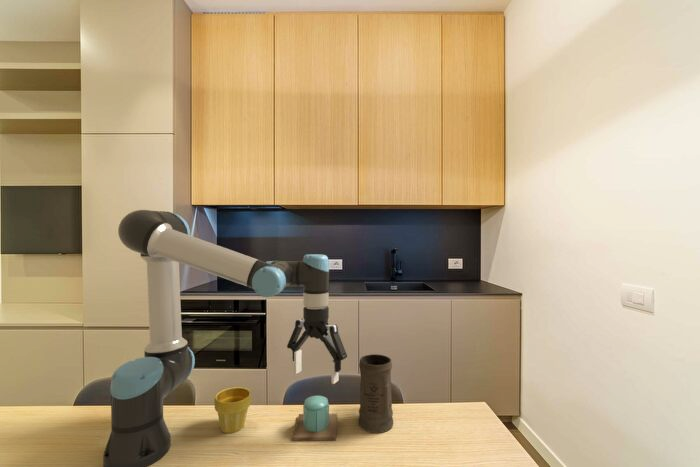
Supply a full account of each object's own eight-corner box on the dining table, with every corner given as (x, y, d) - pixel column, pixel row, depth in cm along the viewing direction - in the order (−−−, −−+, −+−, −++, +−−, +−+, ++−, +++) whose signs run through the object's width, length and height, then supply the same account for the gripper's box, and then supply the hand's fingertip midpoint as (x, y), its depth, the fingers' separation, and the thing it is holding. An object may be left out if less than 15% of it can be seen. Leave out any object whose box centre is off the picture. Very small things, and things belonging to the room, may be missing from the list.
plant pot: (256, 418, 107) (256, 387, 107) (242, 438, 97) (242, 404, 96) (224, 416, 108) (224, 385, 108) (207, 436, 98) (207, 402, 97)
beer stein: (395, 435, 98) (395, 364, 99) (358, 434, 98) (358, 363, 99) (390, 410, 113) (390, 349, 114) (358, 410, 113) (358, 349, 114)
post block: (292, 440, 95) (292, 415, 95) (298, 417, 107) (298, 395, 107) (335, 440, 95) (335, 415, 95) (337, 417, 107) (336, 394, 107)
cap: (332, 427, 100) (332, 403, 100) (309, 434, 97) (309, 409, 96) (322, 415, 106) (322, 393, 106) (300, 422, 103) (300, 399, 103)
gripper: (358, 308, 99) (358, 381, 99) (291, 299, 111) (291, 364, 111) (345, 314, 92) (345, 392, 93) (275, 303, 105) (275, 372, 105)
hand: (315, 377), depth 102 cm, fingers open, 13 cm apart
